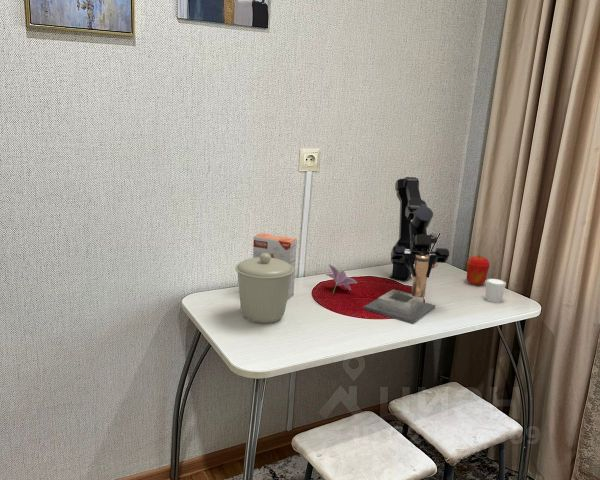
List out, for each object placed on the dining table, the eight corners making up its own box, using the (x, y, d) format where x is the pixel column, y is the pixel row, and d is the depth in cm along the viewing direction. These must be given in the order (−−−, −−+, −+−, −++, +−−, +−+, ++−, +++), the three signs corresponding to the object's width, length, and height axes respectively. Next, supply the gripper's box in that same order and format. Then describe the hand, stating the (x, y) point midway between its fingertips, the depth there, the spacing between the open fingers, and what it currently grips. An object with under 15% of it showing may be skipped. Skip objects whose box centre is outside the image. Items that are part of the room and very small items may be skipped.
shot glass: (500, 297, 212) (503, 279, 210) (505, 303, 205) (508, 285, 203) (481, 295, 212) (484, 277, 211) (485, 302, 206) (488, 283, 204)
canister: (271, 334, 170) (274, 266, 164) (222, 319, 178) (223, 254, 173) (301, 314, 185) (305, 252, 180) (254, 302, 194) (256, 241, 188)
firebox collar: (363, 309, 193) (364, 298, 192) (388, 295, 207) (389, 284, 206) (413, 323, 183) (414, 312, 182) (435, 308, 197) (436, 297, 196)
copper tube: (408, 293, 194) (412, 254, 190) (418, 292, 196) (423, 252, 192) (417, 298, 190) (422, 258, 186) (427, 296, 192) (432, 256, 189)
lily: (357, 300, 204) (364, 274, 206) (330, 290, 199) (338, 264, 201) (339, 298, 214) (346, 274, 216) (313, 289, 209) (320, 264, 211)
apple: (468, 278, 231) (472, 250, 228) (489, 283, 226) (493, 254, 223) (461, 283, 224) (464, 254, 221) (482, 288, 219) (486, 259, 216)
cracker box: (250, 293, 201) (252, 235, 196) (258, 288, 207) (260, 231, 201) (287, 300, 196) (290, 241, 191) (294, 295, 202) (297, 237, 196)
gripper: (395, 222, 190) (397, 264, 183) (451, 225, 191) (455, 267, 183) (389, 238, 200) (391, 279, 193) (443, 241, 200) (446, 282, 193)
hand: (421, 276), depth 190 cm, fingers closed on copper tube, 4 cm apart
